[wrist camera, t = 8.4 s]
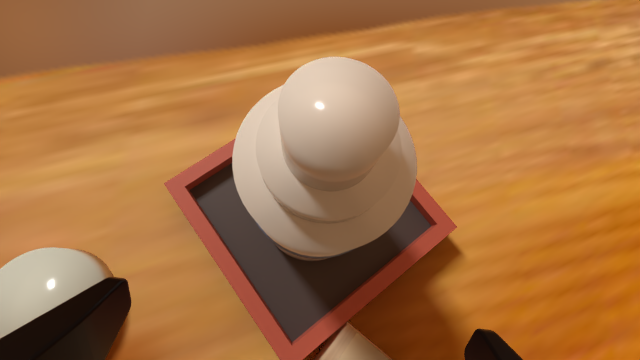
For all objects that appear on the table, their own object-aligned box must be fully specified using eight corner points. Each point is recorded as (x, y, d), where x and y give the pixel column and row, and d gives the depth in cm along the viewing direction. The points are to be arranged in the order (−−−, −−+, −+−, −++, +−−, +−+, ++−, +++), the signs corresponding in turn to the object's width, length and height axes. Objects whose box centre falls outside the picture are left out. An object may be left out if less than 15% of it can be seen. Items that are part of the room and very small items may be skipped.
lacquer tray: (442, 231, 19) (457, 226, 18) (289, 361, 17) (288, 372, 15) (328, 94, 22) (330, 78, 20) (176, 191, 19) (163, 183, 17)
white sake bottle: (377, 193, 19) (506, 72, 7) (331, 281, 17) (402, 305, 6) (294, 147, 19) (292, -37, 8) (242, 229, 18) (141, 152, 6)
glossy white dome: (135, 327, 17) (120, 333, 16) (19, 392, 16) (-9, 405, 15) (96, 229, 18) (79, 226, 17) (-14, 284, 17) (-42, 285, 16)
